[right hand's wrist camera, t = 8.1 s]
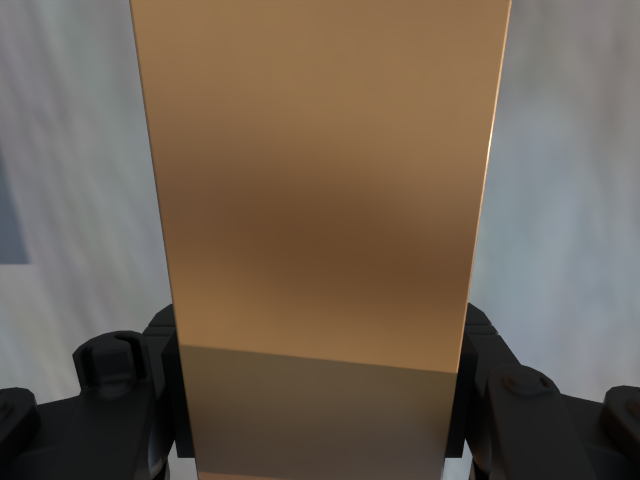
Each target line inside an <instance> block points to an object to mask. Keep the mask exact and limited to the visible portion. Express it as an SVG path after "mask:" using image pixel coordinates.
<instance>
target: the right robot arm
mask: <svg viewBox="0 0 640 480" xmlns="http://www.w3.org/2000/svg"><path fill="white" fill-rule="evenodd" d="M72 356H73V360H74V364H75V368H76V372H77V375H78V379H79V383H80V387H81V392H80V394H79V395H78V396H75V397H71V398H68V399H63V400H58V401H54V402H49V403H44V404H40V405H37V403H36V400H35V396H34V394H33V393H32V392H31V391H29V390H28V389H24V388H18V387H15V388H7V389H1V390H0V480H170V470H169V463H168V458H167V457H168V455H169V452H170V450H171V447H172V445H173V442H174V440H175V444H176V450H177V456H178V458H195V456H194V449H193V442H192V435H191V428H190V421H189V414H188V407H187V400H186V393H185V386H184V379H183V372H182V365H181V358H180V352H179V345H178V338H177V331H176V324H175V317H174V310H173V304H170V305H168V306H167V307H165V308H164V309H162V310H161V311H160V312H158V313H157V314H156V315H155V316H154V318H153V319H152V320H151V322H150V323H149V325H148V327H147V328H146V329H145V330H144V332H143V333H142V334H141V333H138V332H134V331H115V332H110V333H105V334H102V335H100V336H97V337H95V338H92V339H90V340H88V341H87V342H85V343H84V344H82V345H81V346H79V347H78V349H77V350H76V351H75V352H74V353H73V354H72ZM465 439H466V441H467V444H468V446H469V448H470V451H471V453H472V456H473V458H472V463H471V469H470V475H469V480H640V388H639V387H632V386H624V385H623V386H617V387H612V388H611V389H610V390H609V391H607V392H606V395H605V398H604V402H603V403H599V402H594V401H590V400H585V399H581V398H576V397H571V396H568V395H564V394H561V393H560V391H559V389H558V388H557V386H556V385H555V384H554V382H553V381H552V380H551V379H549V378H548V377H547V376H546V375H544V374H543V373H541V372H539V371H537V370H535V369H533V368H531V367H528V366H524V365H521V364H520V363H519V361H518V360H517V358H516V357H515V356H514V354H513V353H512V351H511V350H510V349H509V347H508V346H507V344H506V343H505V342H504V340H503V339H502V337H501V336H500V335H498V332H497V330H496V329H495V328H494V326H492V323H491V322H490V321H489V319H488V318H487V316H486V315H485V314H484V312H482V311H481V310H479V309H478V308H476V307H475V306H473V305H472V304H471V303H468V304H467V311H466V318H465V325H464V332H463V339H462V346H461V352H460V359H459V366H458V373H457V380H456V387H455V394H454V400H453V407H452V414H451V421H450V428H449V435H448V442H447V449H446V455H445V458H462V454H463V448H464V442H465Z"/></svg>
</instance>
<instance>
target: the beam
mask: <svg viewBox="0 0 640 480" xmlns="http://www.w3.org/2000/svg"><path fill="white" fill-rule="evenodd" d="M511 2H512V0H129V3H130V10H131V17H132V24H133V31H134V38H135V45H136V52H137V59H138V66H139V73H140V80H141V87H142V94H143V101H144V108H145V115H146V122H147V129H148V136H149V143H150V150H151V157H152V163H153V170H154V177H155V184H156V191H157V198H158V205H159V212H160V219H161V226H162V233H163V240H164V247H165V254H166V261H167V268H168V275H169V282H170V289H171V296H172V303H173V310H174V317H175V324H176V331H177V338H178V345H179V352H180V358H181V365H182V372H183V379H184V386H185V393H186V400H187V407H188V414H189V421H190V428H191V435H192V442H193V449H194V456H195V463H196V470H197V477H198V480H442V476H443V469H444V462H445V455H446V449H447V442H448V435H449V428H450V421H451V414H452V407H453V400H454V394H455V387H456V380H457V373H458V366H459V359H460V352H461V346H462V339H463V332H464V325H465V318H466V311H467V304H468V297H469V291H470V284H471V277H472V270H473V263H474V256H475V249H476V242H477V236H478V229H479V222H480V215H481V208H482V201H483V194H484V188H485V181H486V174H487V167H488V160H489V153H490V146H491V139H492V133H493V126H494V119H495V112H496V105H497V98H498V91H499V85H500V78H501V71H502V64H503V57H504V50H505V43H506V36H507V30H508V23H509V16H510V9H511Z"/></svg>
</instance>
